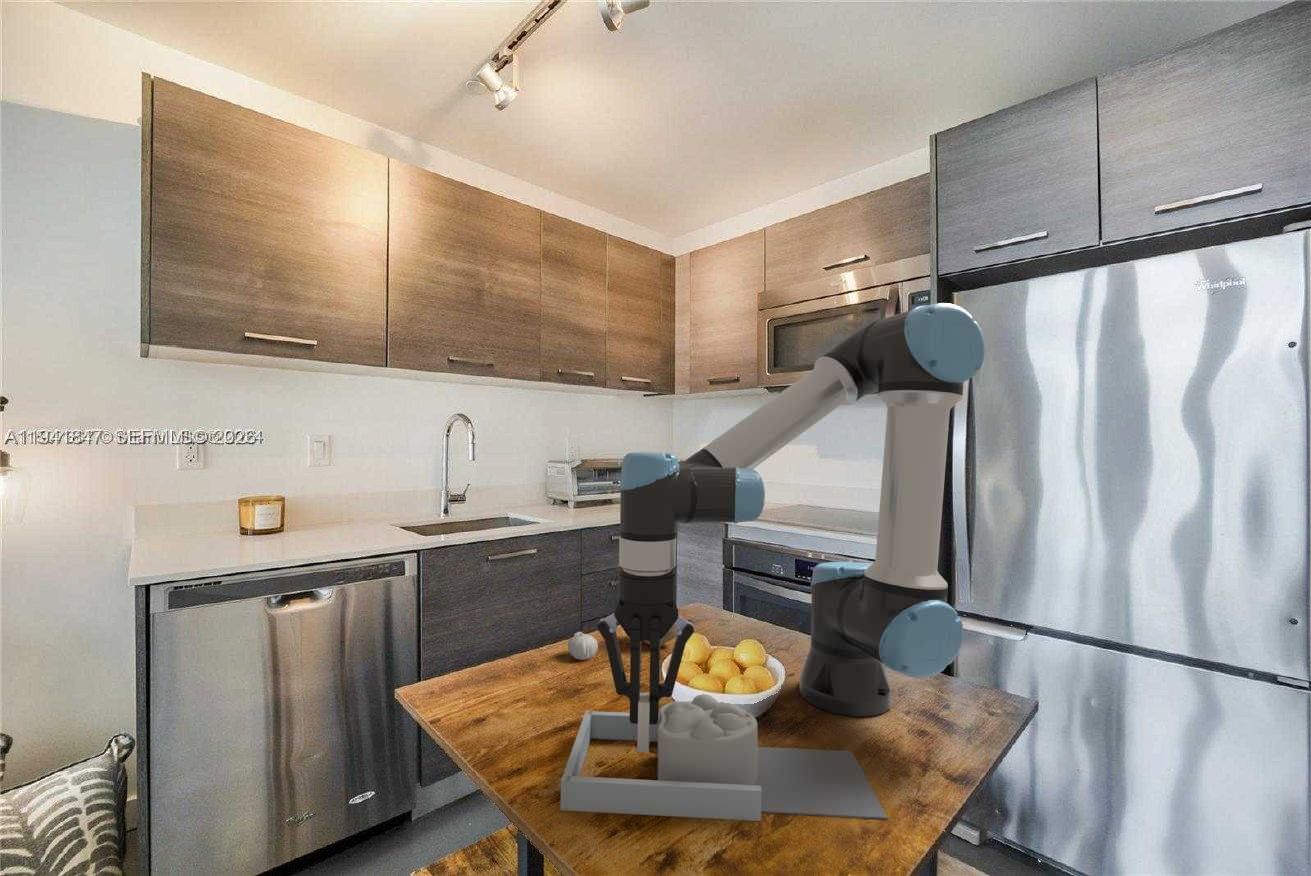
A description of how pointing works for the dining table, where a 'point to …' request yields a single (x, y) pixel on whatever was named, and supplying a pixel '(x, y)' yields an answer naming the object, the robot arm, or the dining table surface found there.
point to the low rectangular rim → (647, 783)
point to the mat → (815, 784)
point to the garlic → (582, 646)
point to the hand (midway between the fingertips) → (643, 746)
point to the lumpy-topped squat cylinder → (707, 743)
